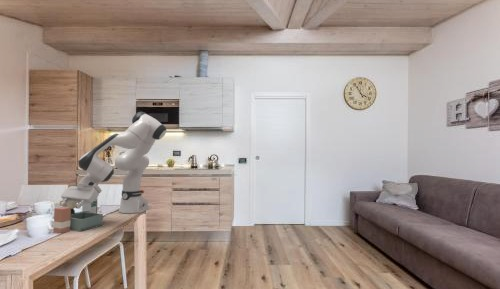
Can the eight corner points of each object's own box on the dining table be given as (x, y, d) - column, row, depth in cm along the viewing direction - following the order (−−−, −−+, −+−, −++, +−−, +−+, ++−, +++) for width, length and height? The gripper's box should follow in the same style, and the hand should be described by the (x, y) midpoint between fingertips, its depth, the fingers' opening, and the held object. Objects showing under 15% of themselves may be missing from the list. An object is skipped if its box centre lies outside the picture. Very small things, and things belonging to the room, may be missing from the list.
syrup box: (90, 220, 168) (91, 195, 169) (81, 219, 170) (82, 195, 170) (97, 218, 174) (98, 194, 174) (88, 217, 175) (89, 193, 175)
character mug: (81, 217, 173) (82, 196, 173) (76, 220, 166) (77, 198, 166) (61, 217, 172) (63, 196, 172) (55, 220, 165) (56, 198, 165)
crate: (83, 222, 164) (83, 211, 164) (102, 224, 160) (102, 214, 160) (60, 228, 151) (60, 216, 151) (80, 231, 147) (81, 219, 147)
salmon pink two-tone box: (62, 229, 149) (63, 206, 149) (70, 231, 147) (71, 207, 147) (53, 232, 144) (54, 208, 144) (60, 233, 142) (61, 209, 142)
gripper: (68, 181, 159) (51, 201, 150) (98, 183, 153) (81, 205, 144) (75, 188, 163) (58, 208, 154) (104, 191, 157) (88, 212, 148)
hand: (70, 207), depth 149 cm, fingers open, 8 cm apart
